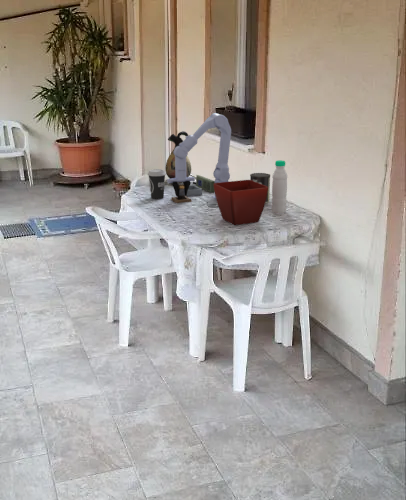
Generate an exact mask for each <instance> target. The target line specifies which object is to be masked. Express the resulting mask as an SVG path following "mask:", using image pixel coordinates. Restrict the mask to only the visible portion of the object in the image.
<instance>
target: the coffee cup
mask: <svg viewBox="0 0 406 500" xmlns="http://www.w3.org/2000/svg"><path fill="white" fill-rule="evenodd" d="M147 176H148V181H149V188H150V189H149V190H150V198H151V200H163V199H164V198H165V196H164V195H165V179H166V176H167V174H166V171H165V170H164V169H162V168H154V169H153V168H152V169H150V170H148V172H147Z"/></svg>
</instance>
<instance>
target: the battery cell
mask: <svg viewBox="0 0 406 500" xmlns="http://www.w3.org/2000/svg"><path fill="white" fill-rule="evenodd" d="M178 184H179V188H178V194H179V195H178V197H177V196H176V197H177V199H178V200H181V199H185V185H184V184H183V183H178Z"/></svg>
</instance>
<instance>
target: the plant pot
mask: <svg viewBox="0 0 406 500" xmlns="http://www.w3.org/2000/svg"><path fill="white" fill-rule="evenodd" d="M214 191H215V192H214V196H215V195H216V199H215V200H216V203H217V206H218V210H219V212H220V215H221V218H222V220H224V221H226V222H228V223H229V224H230V225H233V226H239V225H241V226H242V225H247V224H256V223H259V222H260V220H261V217H262V214H263V212H264V209H265V205H266V203H265V202H266V198H267V193H268V187H267V186H265V185H262V184H260V183H257V182H255V181H252V180H250V179H241V180H231V181H228V182H221V183H214Z"/></svg>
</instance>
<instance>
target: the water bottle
mask: <svg viewBox="0 0 406 500" xmlns="http://www.w3.org/2000/svg"><path fill="white" fill-rule="evenodd" d="M274 165H275V169H274V171H273V174H272V183H271V184H272V185H271V188H272V189H271V197H272V198H271V213H273V214H277V215H282V214H285V213H286V212H287V192H288V174H287V171H286V169H285V167H286V161H285V160H275V164H274Z"/></svg>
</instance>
